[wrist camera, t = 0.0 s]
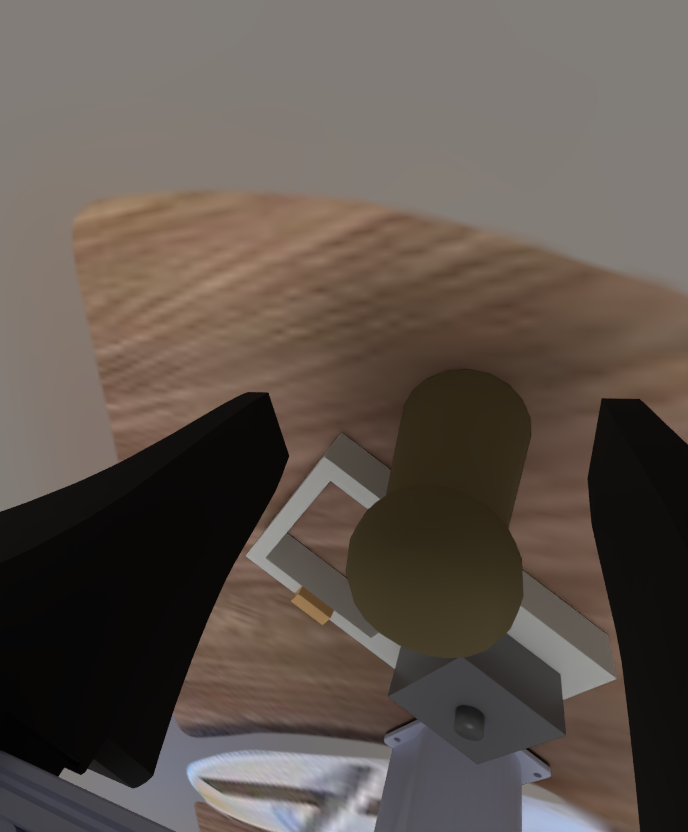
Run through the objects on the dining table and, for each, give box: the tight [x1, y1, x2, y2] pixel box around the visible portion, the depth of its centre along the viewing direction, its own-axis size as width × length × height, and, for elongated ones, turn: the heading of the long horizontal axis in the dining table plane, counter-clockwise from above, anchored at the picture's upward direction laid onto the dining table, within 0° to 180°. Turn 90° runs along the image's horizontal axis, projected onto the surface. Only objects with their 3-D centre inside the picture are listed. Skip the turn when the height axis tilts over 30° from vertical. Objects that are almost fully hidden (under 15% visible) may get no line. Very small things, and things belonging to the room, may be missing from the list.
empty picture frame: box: [246, 432, 617, 765], centre depth 24 cm, size 10×18×6 cm, turn 58°
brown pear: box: [346, 369, 531, 658], centre depth 16 cm, size 6×6×11 cm
